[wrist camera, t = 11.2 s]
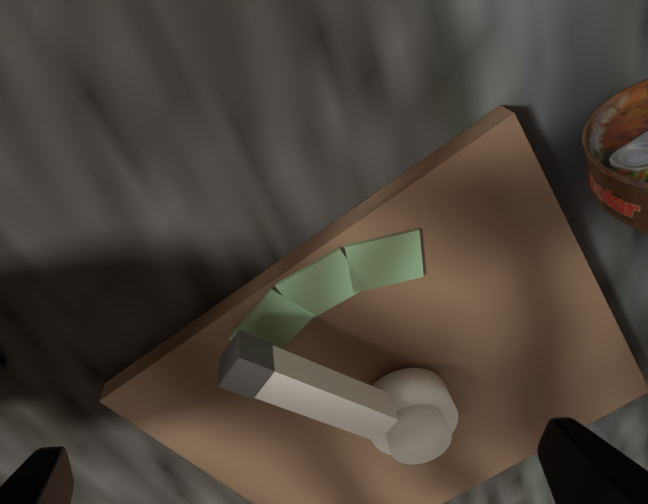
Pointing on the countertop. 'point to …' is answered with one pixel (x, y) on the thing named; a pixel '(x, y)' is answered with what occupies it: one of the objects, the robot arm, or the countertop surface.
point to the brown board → (403, 335)
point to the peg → (346, 398)
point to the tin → (620, 155)
